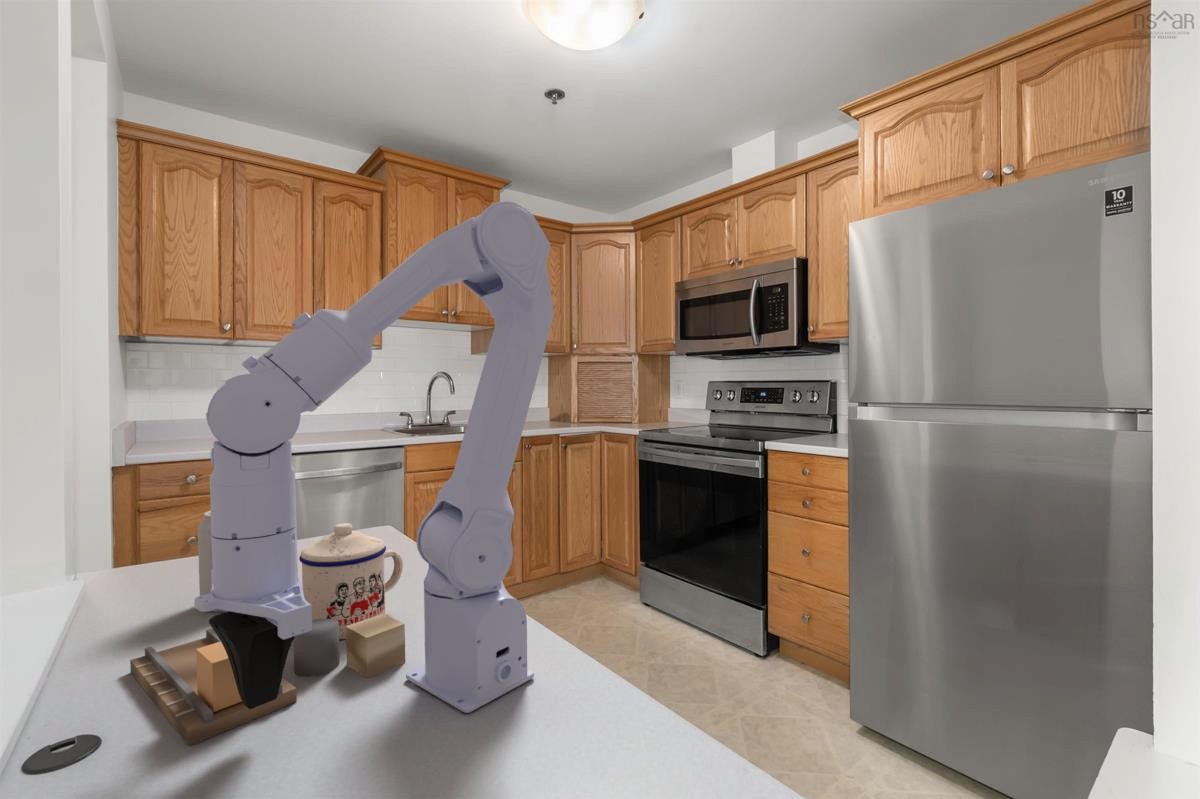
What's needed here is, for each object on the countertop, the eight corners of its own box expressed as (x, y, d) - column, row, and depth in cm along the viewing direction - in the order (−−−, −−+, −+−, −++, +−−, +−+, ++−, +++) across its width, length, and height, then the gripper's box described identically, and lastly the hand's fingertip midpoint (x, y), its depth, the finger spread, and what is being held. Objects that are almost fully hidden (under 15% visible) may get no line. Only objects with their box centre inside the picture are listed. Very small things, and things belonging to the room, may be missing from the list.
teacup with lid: (327, 650, 61) (324, 540, 60) (286, 628, 66) (283, 527, 66) (424, 613, 70) (422, 517, 70) (381, 596, 76) (379, 508, 75)
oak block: (405, 663, 58) (404, 623, 58) (367, 679, 55) (366, 637, 55) (384, 651, 61) (383, 613, 60) (346, 666, 57) (345, 626, 57)
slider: (267, 691, 50) (265, 645, 50) (213, 712, 47) (212, 663, 47) (249, 676, 53) (248, 633, 52) (197, 695, 50) (196, 648, 49)
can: (282, 592, 77) (280, 503, 77) (242, 615, 70) (239, 516, 70) (229, 591, 78) (227, 502, 78) (184, 613, 71) (181, 515, 70)
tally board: (296, 701, 51) (296, 679, 51) (188, 746, 45) (187, 720, 45) (224, 643, 62) (223, 624, 62) (129, 672, 56) (129, 651, 56)
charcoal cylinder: (346, 665, 57) (345, 625, 57) (305, 681, 54) (304, 639, 54) (327, 653, 60) (327, 615, 60) (287, 668, 57) (286, 628, 57)
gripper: (166, 525, 47) (171, 691, 47) (231, 560, 38) (237, 765, 38) (261, 510, 52) (265, 658, 53) (338, 537, 43) (342, 717, 43)
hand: (260, 701), depth 46 cm, fingers closed
